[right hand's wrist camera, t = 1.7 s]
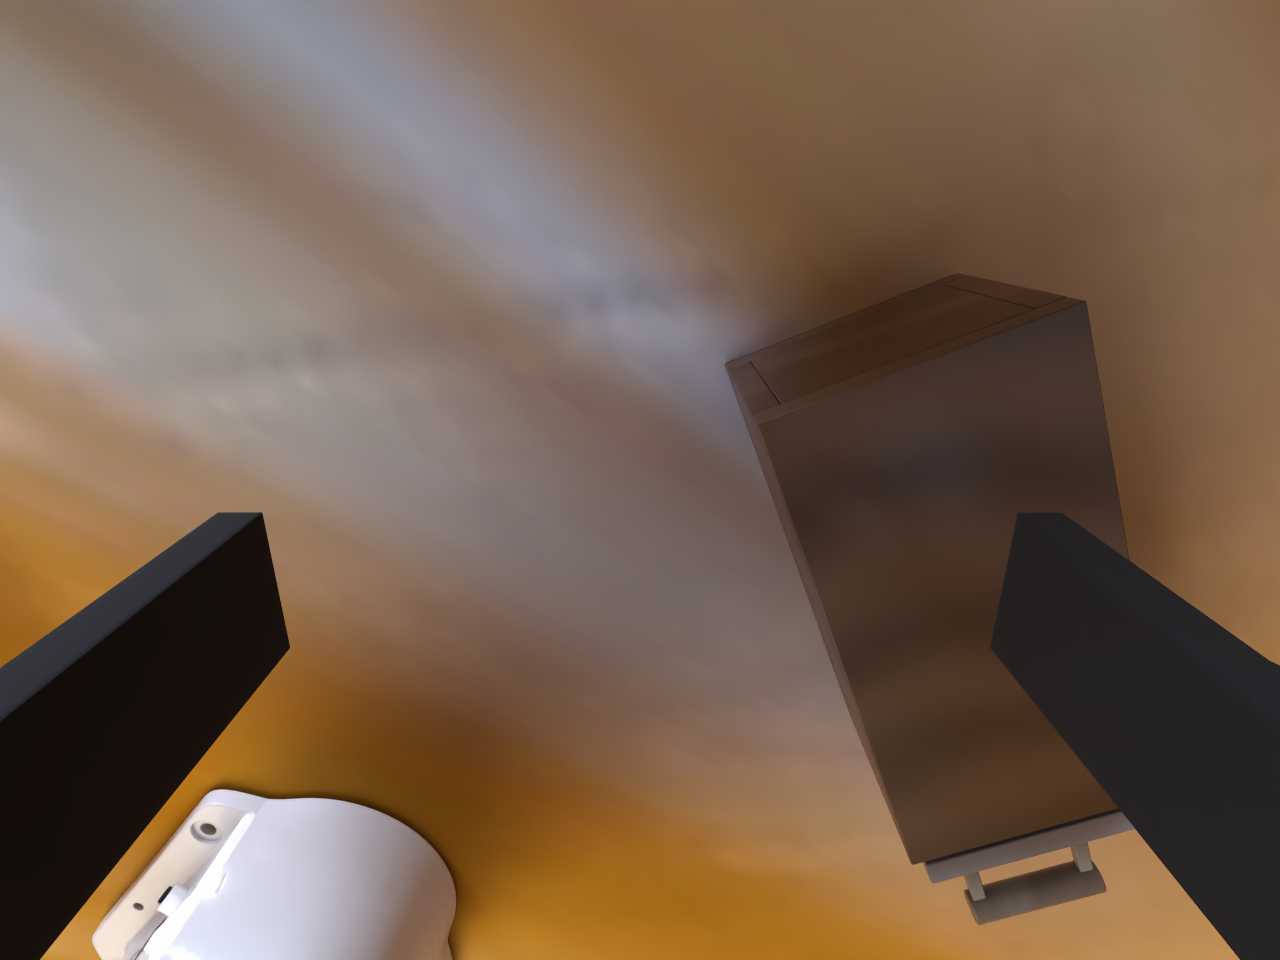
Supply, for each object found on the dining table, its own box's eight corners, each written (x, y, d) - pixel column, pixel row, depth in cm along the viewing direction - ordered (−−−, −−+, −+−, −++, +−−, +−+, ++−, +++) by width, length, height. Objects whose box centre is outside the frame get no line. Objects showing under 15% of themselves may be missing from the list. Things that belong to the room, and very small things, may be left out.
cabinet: (1045, 656, 36) (1169, 795, 28) (850, 716, 37) (912, 866, 29) (957, 272, 29) (1087, 300, 21) (724, 363, 31) (756, 423, 22)
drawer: (1071, 793, 38) (1162, 918, 31) (907, 840, 39) (961, 969, 33) (974, 372, 30) (1069, 419, 23) (769, 447, 31) (804, 513, 24)
